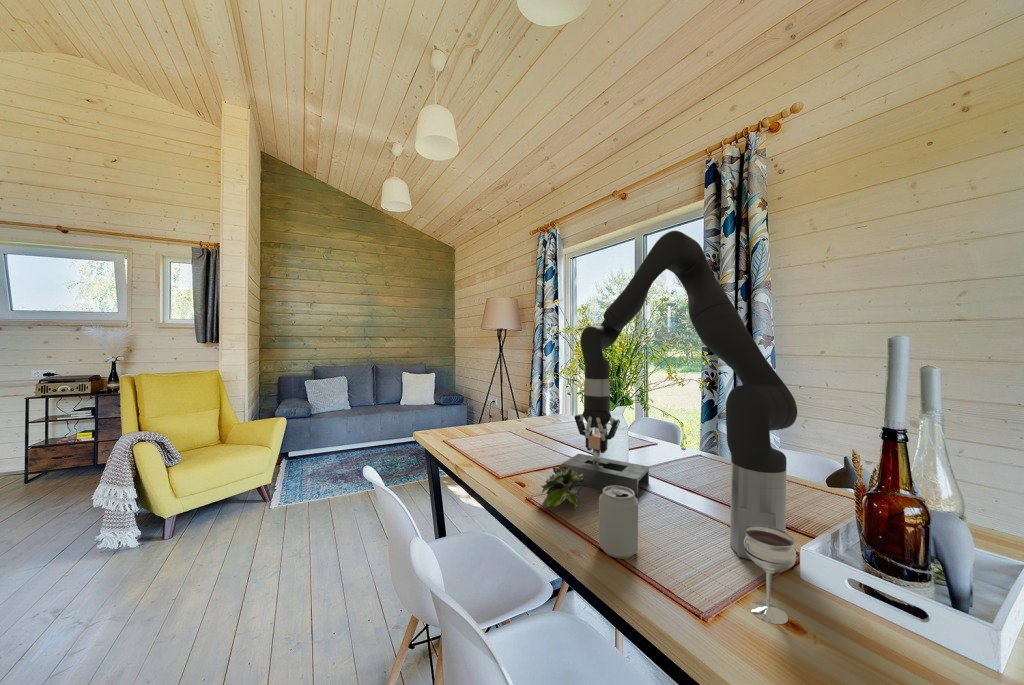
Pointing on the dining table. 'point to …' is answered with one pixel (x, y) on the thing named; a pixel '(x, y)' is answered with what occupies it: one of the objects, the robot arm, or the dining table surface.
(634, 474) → the keyhole plate
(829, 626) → the dining table surface
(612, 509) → the can
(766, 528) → the wineglass
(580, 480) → the leafy green plant
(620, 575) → the dining table surface
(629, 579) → the dining table surface
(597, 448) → the peg
